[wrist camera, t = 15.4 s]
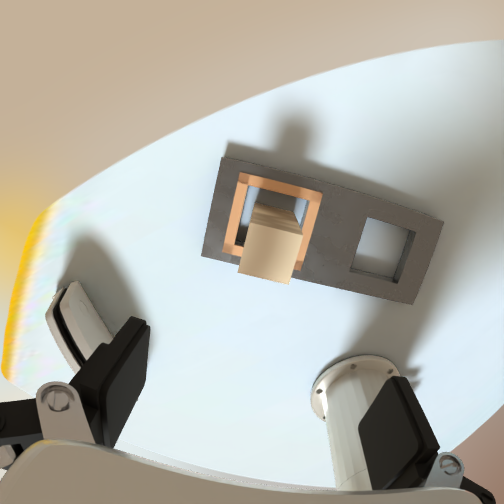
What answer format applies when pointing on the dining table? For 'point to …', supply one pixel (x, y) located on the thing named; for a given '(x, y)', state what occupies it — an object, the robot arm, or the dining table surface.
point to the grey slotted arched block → (76, 325)
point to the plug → (271, 244)
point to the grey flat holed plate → (323, 230)
